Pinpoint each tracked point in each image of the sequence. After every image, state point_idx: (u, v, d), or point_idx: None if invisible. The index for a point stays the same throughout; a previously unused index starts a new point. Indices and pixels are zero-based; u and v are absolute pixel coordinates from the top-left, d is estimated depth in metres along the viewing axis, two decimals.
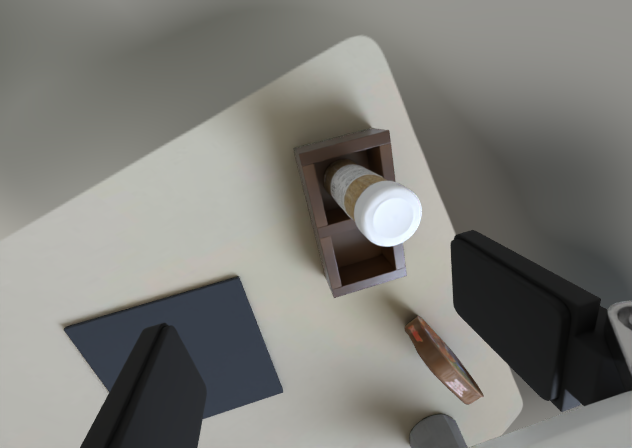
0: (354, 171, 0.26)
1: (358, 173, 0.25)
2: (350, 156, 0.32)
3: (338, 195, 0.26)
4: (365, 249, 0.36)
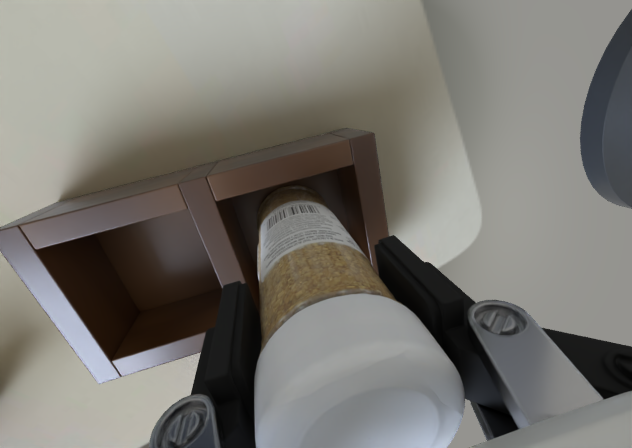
0: None
1: None
2: None
3: (311, 223, 0.11)
4: (147, 278, 0.18)
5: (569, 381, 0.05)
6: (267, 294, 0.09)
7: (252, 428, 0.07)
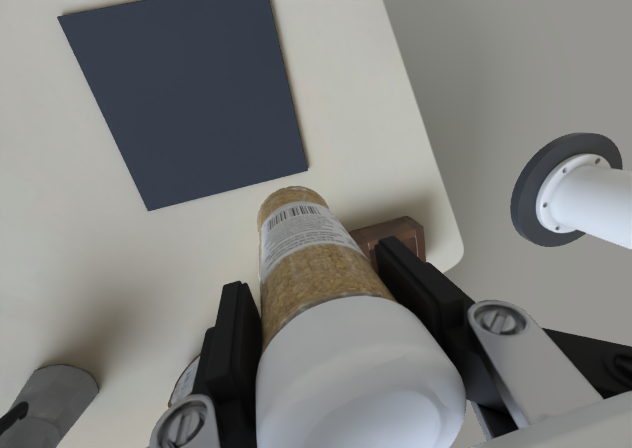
0: None
1: None
2: None
3: (311, 224, 0.11)
4: None
5: (569, 381, 0.05)
6: (268, 296, 0.09)
7: (252, 428, 0.07)
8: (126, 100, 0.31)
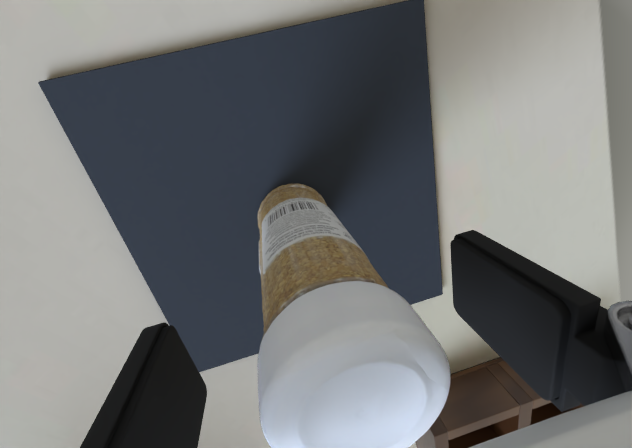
0: None
1: None
2: None
3: (310, 219, 0.12)
4: None
5: None
6: (269, 284, 0.09)
7: None
8: (166, 218, 0.17)
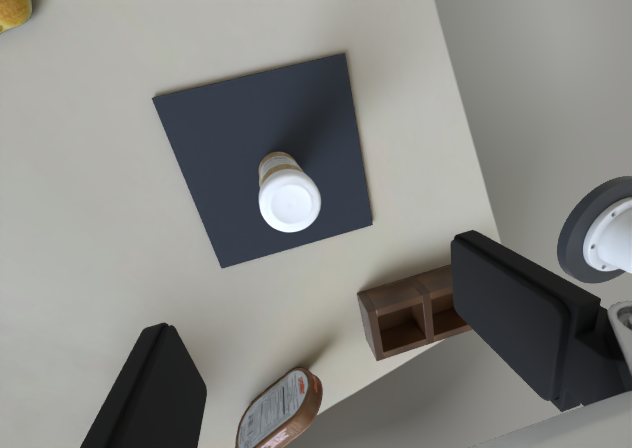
0: None
1: None
2: (451, 297, 0.45)
3: (282, 160, 0.26)
4: (380, 319, 0.44)
5: None
6: (263, 180, 0.24)
7: None
8: (209, 170, 0.32)
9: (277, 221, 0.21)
